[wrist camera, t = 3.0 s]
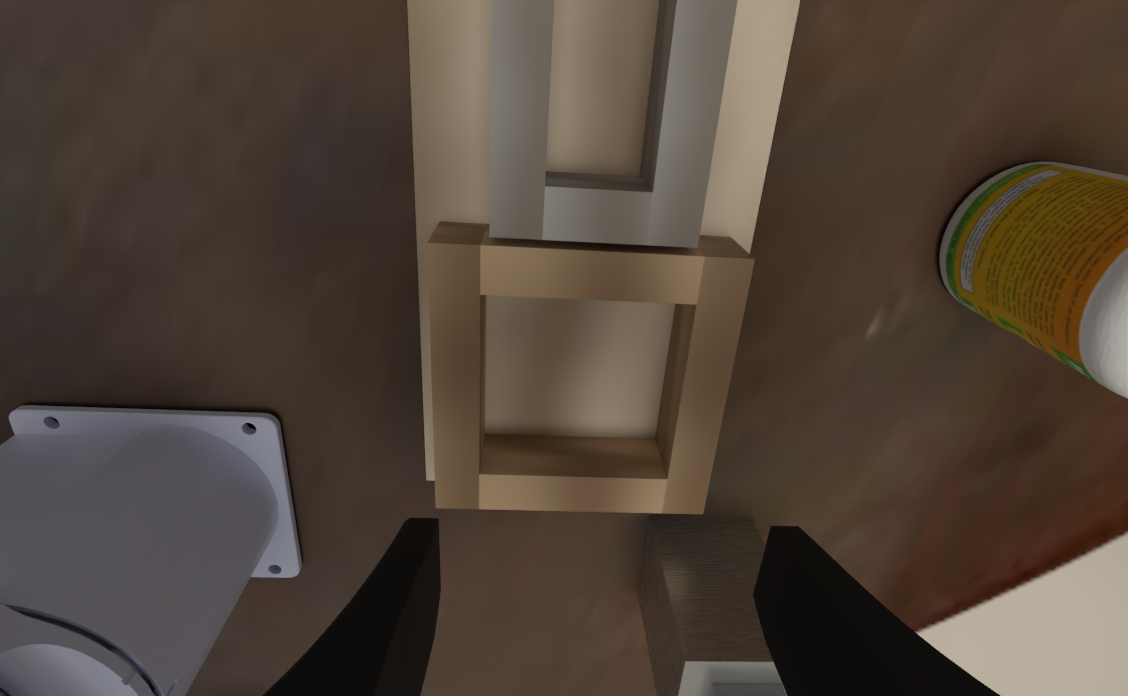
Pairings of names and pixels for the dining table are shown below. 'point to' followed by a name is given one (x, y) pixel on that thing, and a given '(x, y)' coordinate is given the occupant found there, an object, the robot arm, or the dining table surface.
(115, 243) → the dining table surface
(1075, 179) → the supplement bottle
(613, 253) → the socket board
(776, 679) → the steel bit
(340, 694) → the robot arm
